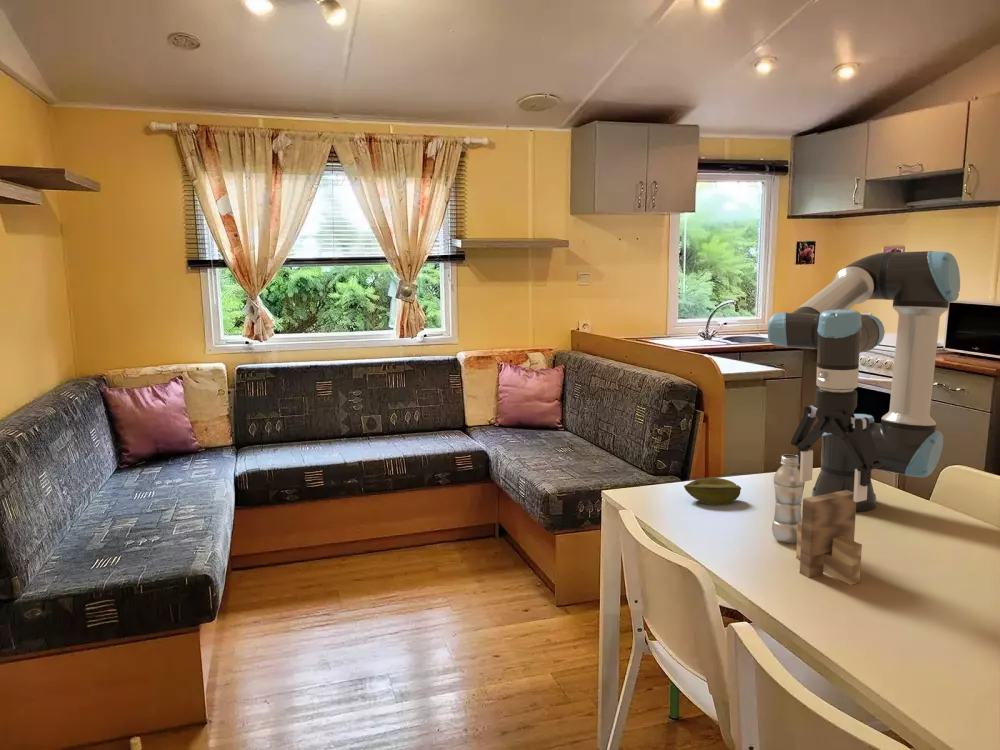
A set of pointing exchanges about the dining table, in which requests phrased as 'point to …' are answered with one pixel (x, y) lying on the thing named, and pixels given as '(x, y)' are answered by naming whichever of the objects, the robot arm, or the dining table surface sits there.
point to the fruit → (713, 490)
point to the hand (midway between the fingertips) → (831, 490)
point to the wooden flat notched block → (824, 527)
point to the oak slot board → (839, 558)
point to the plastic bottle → (787, 499)
